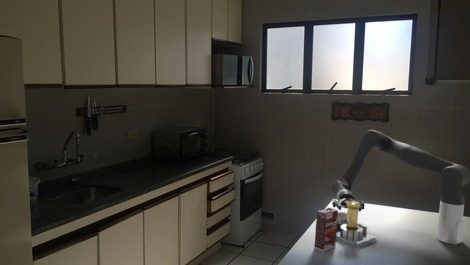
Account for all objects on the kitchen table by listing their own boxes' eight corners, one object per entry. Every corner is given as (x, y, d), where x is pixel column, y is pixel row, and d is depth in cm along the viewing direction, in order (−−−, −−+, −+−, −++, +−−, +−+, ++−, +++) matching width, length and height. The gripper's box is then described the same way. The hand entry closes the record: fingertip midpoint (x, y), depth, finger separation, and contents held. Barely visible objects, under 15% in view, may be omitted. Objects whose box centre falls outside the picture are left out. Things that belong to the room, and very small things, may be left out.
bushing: (360, 234, 176) (362, 203, 174) (352, 237, 172) (354, 206, 170) (350, 230, 180) (351, 200, 178) (342, 233, 177) (343, 202, 175)
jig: (376, 241, 174) (376, 230, 173) (357, 248, 166) (358, 237, 166) (345, 230, 187) (346, 219, 186) (327, 236, 179) (327, 225, 178)
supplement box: (323, 252, 162) (325, 214, 160) (313, 248, 165) (315, 211, 163) (336, 247, 167) (338, 210, 165) (326, 243, 171) (328, 207, 169)
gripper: (331, 189, 199) (334, 199, 183) (360, 191, 197) (367, 201, 181) (330, 204, 200) (333, 215, 184) (359, 206, 198) (365, 217, 182)
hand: (350, 208), depth 183 cm, fingers open, 8 cm apart
